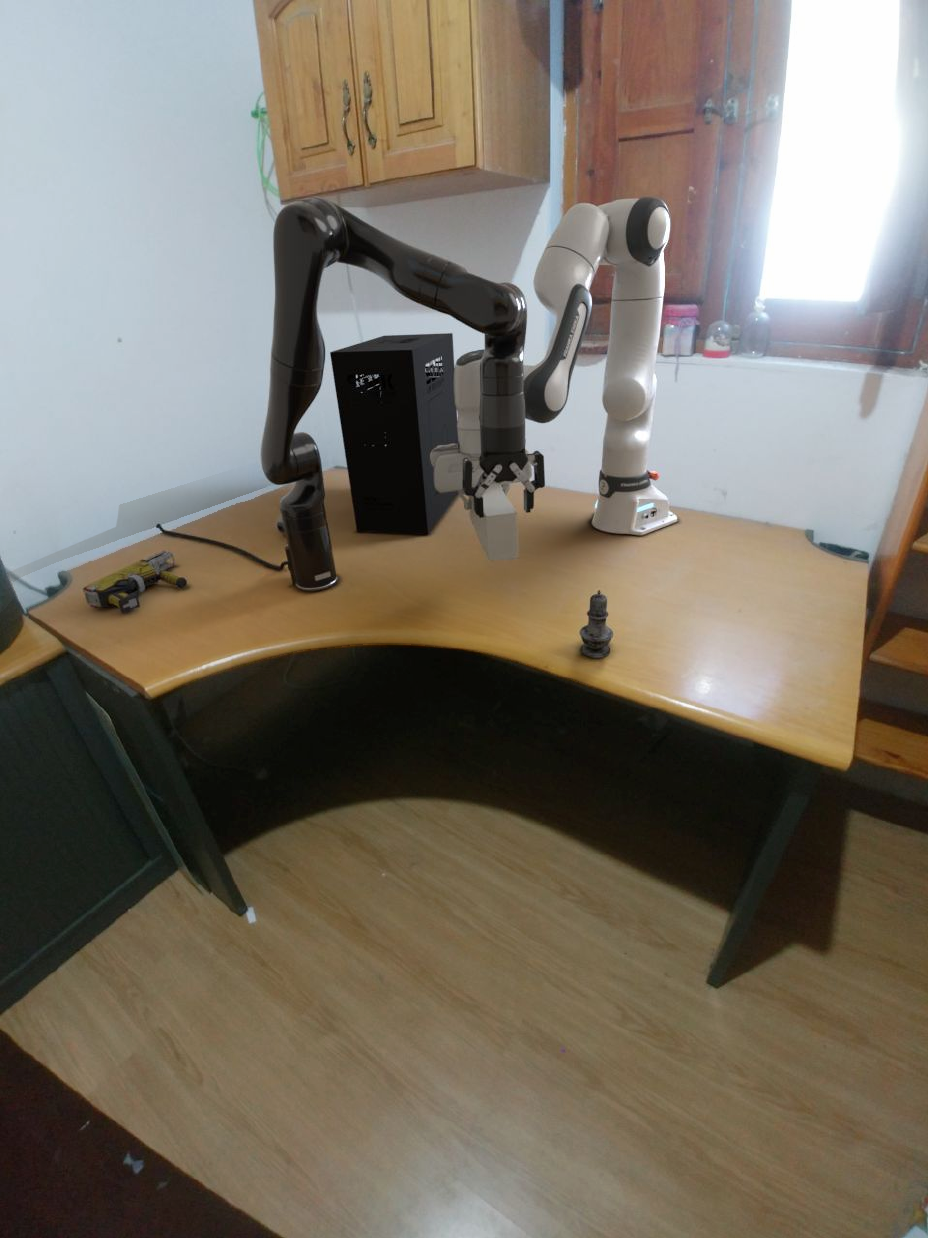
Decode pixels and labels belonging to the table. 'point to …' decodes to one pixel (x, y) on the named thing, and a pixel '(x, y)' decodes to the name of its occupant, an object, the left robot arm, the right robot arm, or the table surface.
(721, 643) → the table surface
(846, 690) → the table surface
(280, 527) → the eyeball
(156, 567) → the toy gun
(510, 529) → the bar
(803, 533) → the table surface
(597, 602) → the dark grey chess piece
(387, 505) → the cardboard box
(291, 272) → the left robot arm
